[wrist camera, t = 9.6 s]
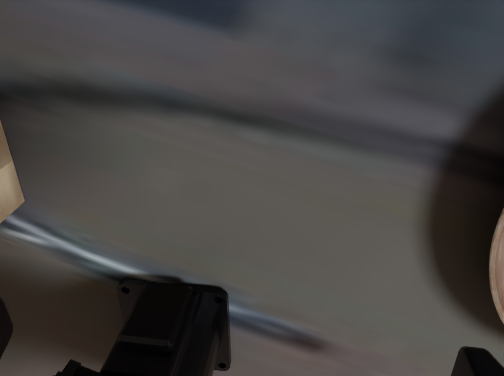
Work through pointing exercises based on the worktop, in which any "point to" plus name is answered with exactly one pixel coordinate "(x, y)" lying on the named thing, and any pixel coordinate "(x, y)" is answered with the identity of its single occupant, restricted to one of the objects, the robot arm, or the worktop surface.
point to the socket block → (8, 181)
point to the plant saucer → (497, 267)
